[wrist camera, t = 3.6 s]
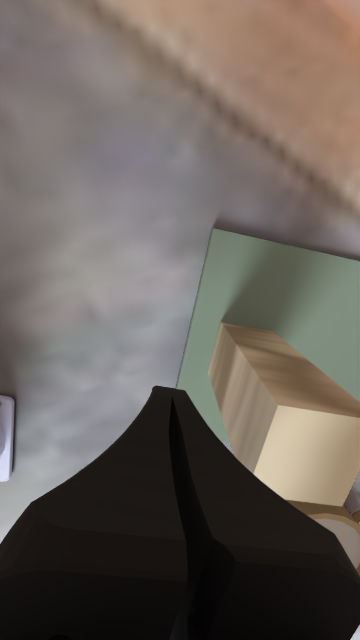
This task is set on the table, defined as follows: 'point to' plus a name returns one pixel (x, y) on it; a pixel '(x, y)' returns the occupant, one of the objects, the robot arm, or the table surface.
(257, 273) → the rubber mat
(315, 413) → the birch block
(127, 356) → the table surface
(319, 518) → the alarm clock
